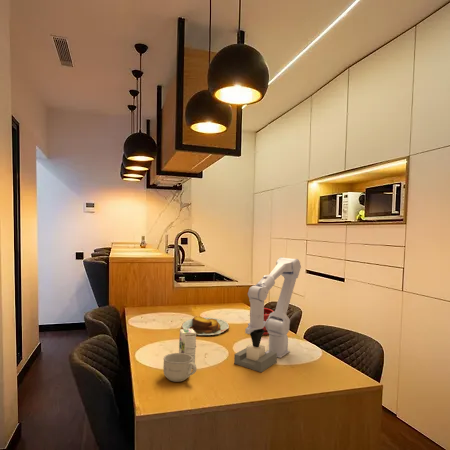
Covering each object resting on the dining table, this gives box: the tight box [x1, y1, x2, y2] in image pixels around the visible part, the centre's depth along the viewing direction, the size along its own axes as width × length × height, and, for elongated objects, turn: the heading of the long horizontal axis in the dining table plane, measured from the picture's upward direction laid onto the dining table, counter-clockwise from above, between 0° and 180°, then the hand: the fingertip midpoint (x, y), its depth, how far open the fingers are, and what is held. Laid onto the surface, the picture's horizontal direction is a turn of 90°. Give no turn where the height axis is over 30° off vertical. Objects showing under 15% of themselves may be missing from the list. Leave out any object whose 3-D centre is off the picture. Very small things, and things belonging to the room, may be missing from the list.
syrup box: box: [178, 328, 197, 369], centre depth 136 cm, size 6×6×14 cm
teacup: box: [163, 352, 197, 383], centre depth 125 cm, size 14×11×8 cm
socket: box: [233, 347, 278, 373], centre depth 141 cm, size 13×13×4 cm
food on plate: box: [181, 316, 230, 336], centre depth 184 cm, size 26×26×7 cm
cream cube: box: [246, 343, 266, 361], centre depth 141 cm, size 5×6×6 cm
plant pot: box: [262, 307, 275, 336], centre depth 181 cm, size 13×13×12 cm
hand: (256, 346), depth 141 cm, fingers closed, pressing on cream cube
